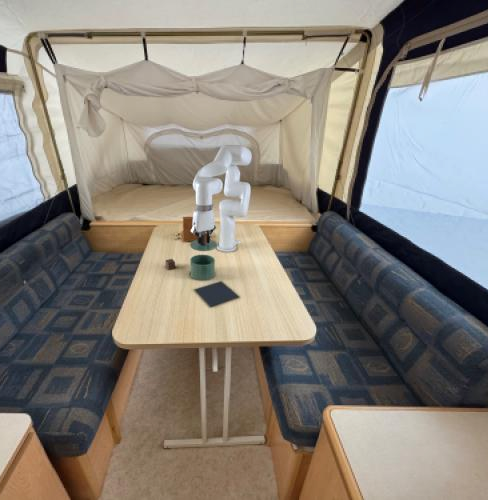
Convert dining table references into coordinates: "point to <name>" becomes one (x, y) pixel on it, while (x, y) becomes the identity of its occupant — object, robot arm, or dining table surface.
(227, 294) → the mat
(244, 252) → the dining table surface
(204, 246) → the lid
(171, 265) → the block
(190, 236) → the game set
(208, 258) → the canister
